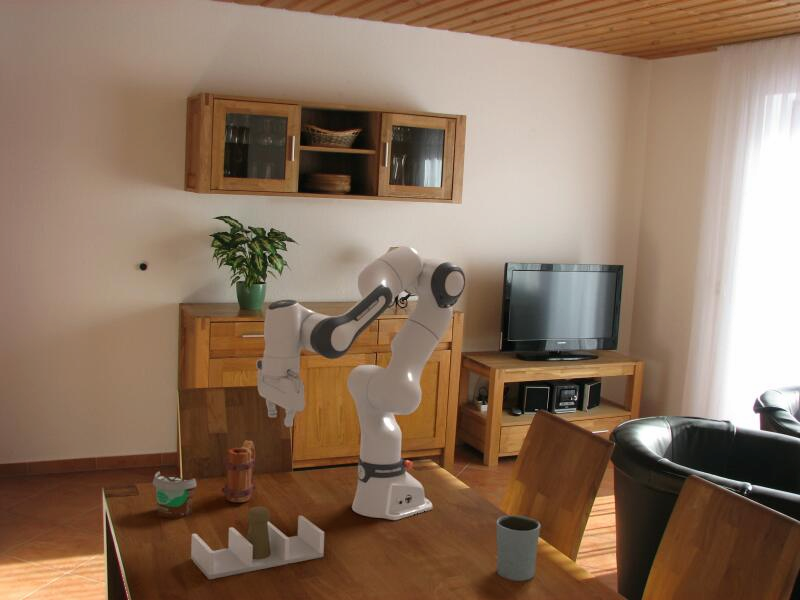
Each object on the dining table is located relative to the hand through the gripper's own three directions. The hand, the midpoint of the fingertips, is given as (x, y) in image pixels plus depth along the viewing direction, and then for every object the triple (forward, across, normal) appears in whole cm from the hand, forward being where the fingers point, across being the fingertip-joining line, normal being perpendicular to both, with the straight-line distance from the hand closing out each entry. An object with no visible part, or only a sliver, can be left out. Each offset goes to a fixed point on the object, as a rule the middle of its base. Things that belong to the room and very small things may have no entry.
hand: (280, 421), depth 216 cm
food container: (+29, +23, +20) cm, 42 cm away
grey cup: (+29, -45, -40) cm, 67 cm away
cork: (+28, -12, +10) cm, 32 cm away
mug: (+29, +28, -2) cm, 40 cm away
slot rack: (+29, -12, +10) cm, 33 cm away
